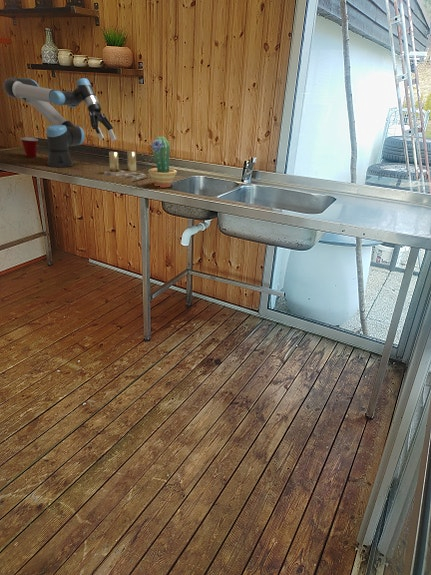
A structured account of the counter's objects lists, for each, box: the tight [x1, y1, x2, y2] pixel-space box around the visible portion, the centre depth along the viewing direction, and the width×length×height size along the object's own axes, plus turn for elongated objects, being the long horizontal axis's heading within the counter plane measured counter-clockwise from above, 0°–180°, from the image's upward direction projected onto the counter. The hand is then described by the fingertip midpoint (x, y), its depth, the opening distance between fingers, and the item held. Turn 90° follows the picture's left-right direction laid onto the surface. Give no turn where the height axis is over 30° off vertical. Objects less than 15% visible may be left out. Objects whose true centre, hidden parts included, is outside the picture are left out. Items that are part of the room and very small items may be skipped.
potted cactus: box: [147, 136, 178, 188], centre depth 211 cm, size 15×15×25 cm
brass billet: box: [127, 150, 137, 172], centre depth 243 cm, size 5×5×12 cm
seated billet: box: [108, 151, 120, 173], centre depth 229 cm, size 5×5×12 cm
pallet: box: [100, 169, 149, 183], centre depth 229 cm, size 23×14×3 cm, turn 65°
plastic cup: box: [20, 137, 39, 158], centre depth 271 cm, size 11×11×12 cm
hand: (108, 139), depth 244 cm, fingers open, 13 cm apart
